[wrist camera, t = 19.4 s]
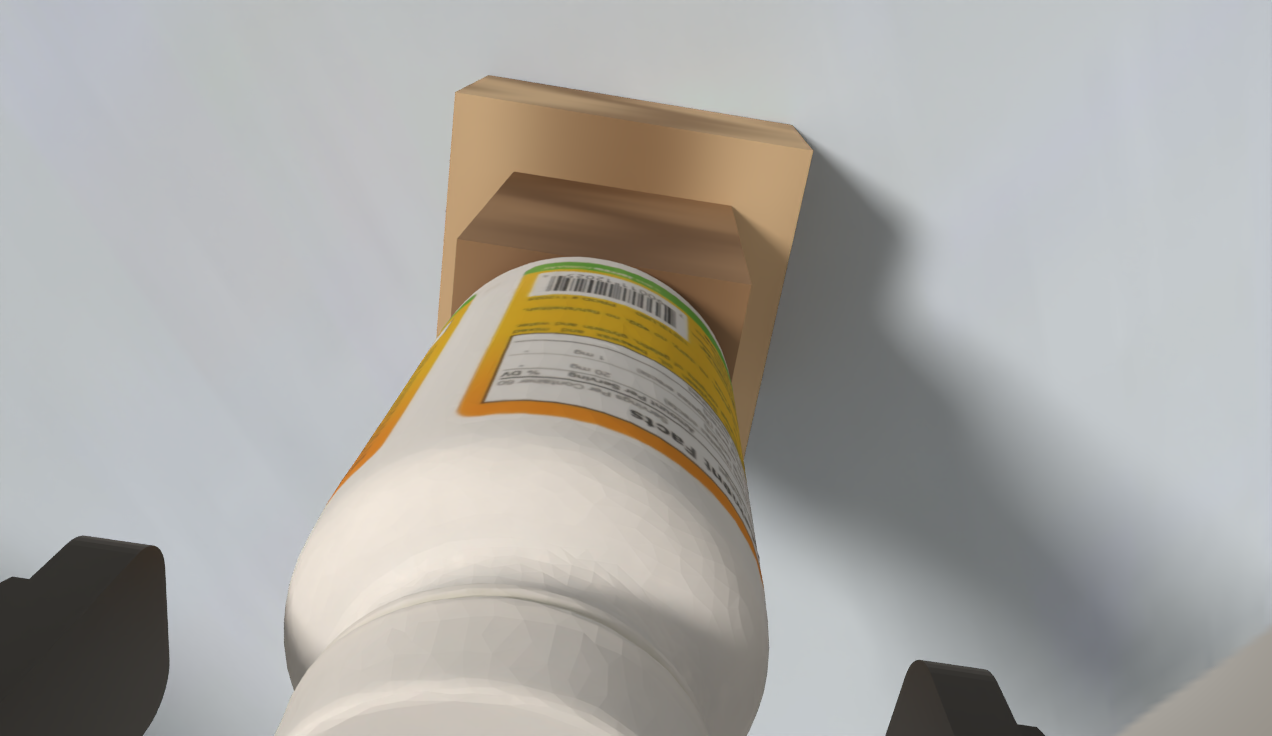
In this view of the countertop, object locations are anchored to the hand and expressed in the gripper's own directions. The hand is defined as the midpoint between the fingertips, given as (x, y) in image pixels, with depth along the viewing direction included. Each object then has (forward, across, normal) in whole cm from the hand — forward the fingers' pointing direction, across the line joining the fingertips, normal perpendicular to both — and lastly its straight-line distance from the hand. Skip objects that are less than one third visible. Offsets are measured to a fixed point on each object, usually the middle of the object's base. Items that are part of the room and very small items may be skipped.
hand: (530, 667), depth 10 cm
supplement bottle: (+7, 0, 0) cm, 7 cm away
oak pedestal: (+17, 0, 0) cm, 17 cm away
